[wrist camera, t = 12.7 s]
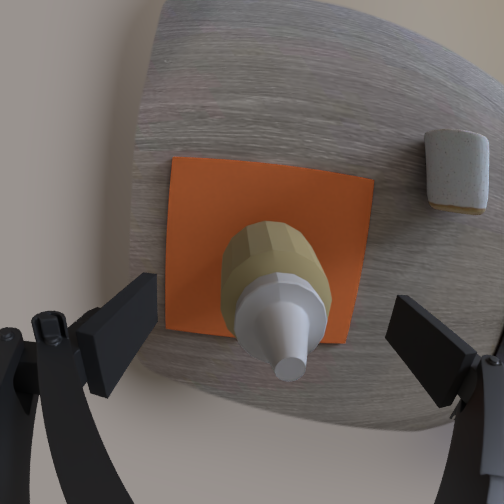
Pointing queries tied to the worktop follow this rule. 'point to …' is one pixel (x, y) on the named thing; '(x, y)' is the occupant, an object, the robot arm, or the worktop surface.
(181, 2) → the worktop surface
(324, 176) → the napkin
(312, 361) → the worktop surface
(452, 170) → the ceramic mug
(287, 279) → the squeeze bottle
